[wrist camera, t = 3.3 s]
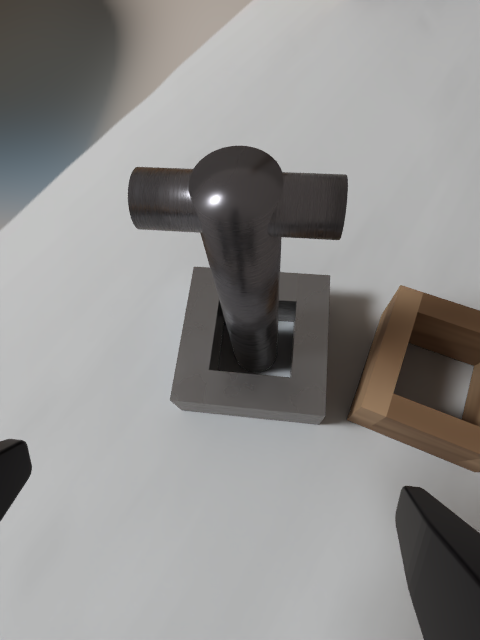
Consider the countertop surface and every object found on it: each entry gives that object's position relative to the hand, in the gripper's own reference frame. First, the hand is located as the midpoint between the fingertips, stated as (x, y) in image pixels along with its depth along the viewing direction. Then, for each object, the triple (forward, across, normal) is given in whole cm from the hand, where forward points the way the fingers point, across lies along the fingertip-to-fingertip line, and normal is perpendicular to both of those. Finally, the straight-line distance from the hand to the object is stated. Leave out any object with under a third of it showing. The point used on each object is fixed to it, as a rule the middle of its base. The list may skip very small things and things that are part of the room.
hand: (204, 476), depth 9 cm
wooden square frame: (+14, +10, -5) cm, 18 cm away
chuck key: (+15, 0, -4) cm, 16 cm away
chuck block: (+15, 0, -4) cm, 16 cm away
